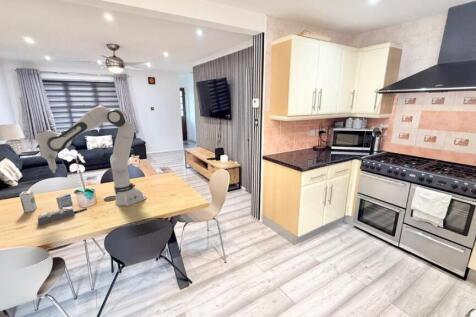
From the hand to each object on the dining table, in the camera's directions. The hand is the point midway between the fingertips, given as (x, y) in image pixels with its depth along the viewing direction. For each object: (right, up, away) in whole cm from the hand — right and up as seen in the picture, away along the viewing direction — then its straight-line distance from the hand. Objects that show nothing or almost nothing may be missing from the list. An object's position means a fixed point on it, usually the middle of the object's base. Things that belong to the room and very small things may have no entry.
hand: (54, 172), depth 158 cm
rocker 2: (+6, -27, -6) cm, 28 cm away
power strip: (+8, -30, -1) cm, 31 cm away
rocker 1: (+1, -28, -10) cm, 30 cm away
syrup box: (-24, -29, +8) cm, 38 cm away
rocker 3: (+11, -26, -2) cm, 28 cm away
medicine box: (-2, -27, +13) cm, 30 cm away
